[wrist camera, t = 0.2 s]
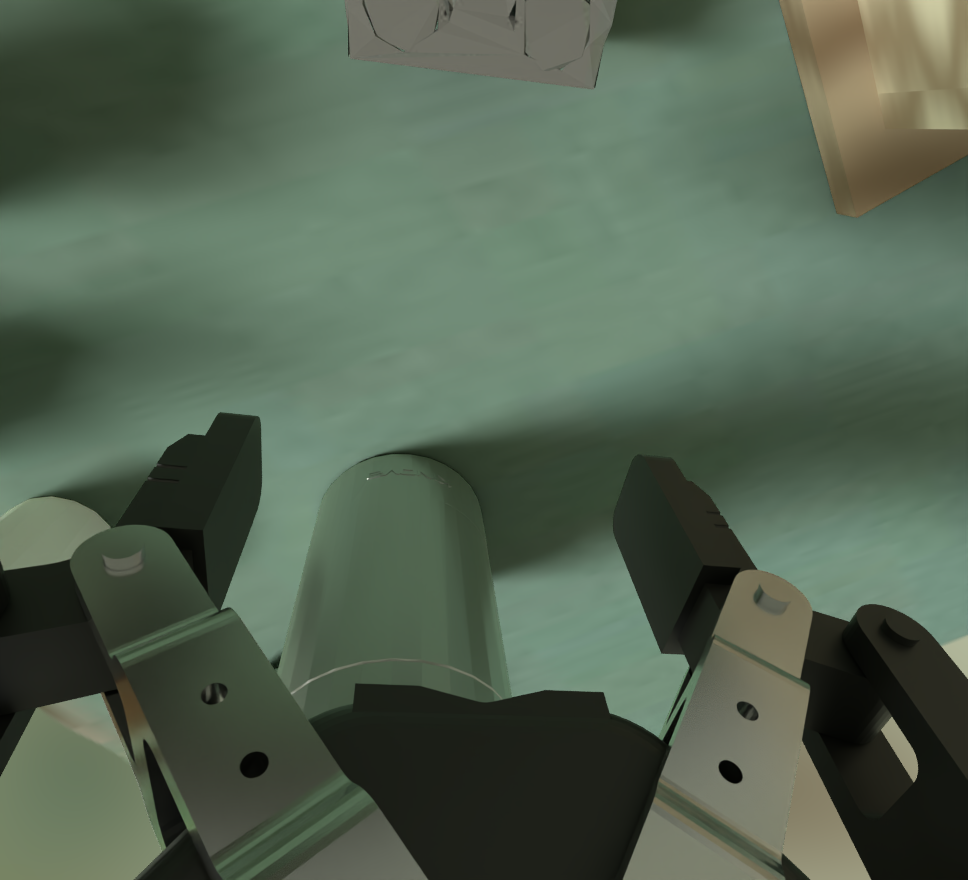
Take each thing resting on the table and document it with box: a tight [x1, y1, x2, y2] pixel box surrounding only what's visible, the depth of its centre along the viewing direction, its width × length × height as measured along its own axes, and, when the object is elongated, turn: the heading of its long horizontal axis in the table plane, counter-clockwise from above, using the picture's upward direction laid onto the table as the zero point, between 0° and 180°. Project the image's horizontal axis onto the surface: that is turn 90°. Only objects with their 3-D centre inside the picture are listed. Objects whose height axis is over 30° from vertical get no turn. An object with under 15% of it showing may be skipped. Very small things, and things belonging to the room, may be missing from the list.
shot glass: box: [0, 496, 111, 570], centre depth 30 cm, size 7×7×7 cm
